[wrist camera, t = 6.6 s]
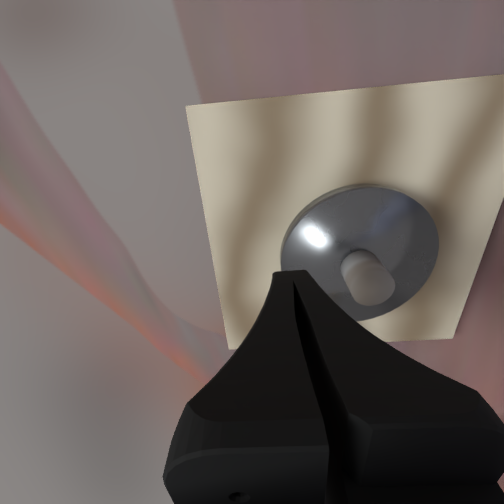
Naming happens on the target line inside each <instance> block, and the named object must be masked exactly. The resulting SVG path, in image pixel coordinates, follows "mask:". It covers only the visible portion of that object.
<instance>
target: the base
mask: <svg viewBox="0 0 504 504" xmlns="http://www.w3.org/2000/svg"><path fill="white" fill-rule="evenodd" d="M185 108H186V113H187V119H188V124H189V130H190V135H191V141H192V147H193V152H194V158H195V163H196V169H197V174H198V180H199V186H200V191H201V197H202V202H203V208H204V213H205V219H206V224H207V230H208V236H209V241H210V247H211V252H212V258H213V264H214V269H215V274H216V280H217V286H218V291H219V296H220V303H221V308H222V314H223V319H224V325H225V331H226V336H227V342H228V347H229V349H238V347H239V346H240V345H241V343H242V342H243V340H244V339H245V337H246V336H247V334H248V333H249V331H250V330H251V328H252V326H253V324H254V323H255V321H256V319H257V317H258V315H259V313H260V311H261V309H262V307H263V305H264V302H265V300H266V297H267V295H268V292H269V289H270V286H271V281H272V274H273V273H274V272H276V271H281V266H280V250H281V245H282V241H283V238H284V235H285V233H286V231H287V229H288V227H289V225H290V224H291V222H292V221H293V219H294V218H295V217H296V216H297V214H298V213H299V212H300V211H301V210H302V209H303V208H304V207H305V206H307V205H308V204H309V203H310V202H312V201H313V200H314V199H316V198H318V197H319V196H321V195H323V194H325V193H327V192H329V191H331V190H334V189H337V188H340V187H343V186H347V185H352V184H361V183H371V184H380V185H385V186H389V187H392V188H394V189H397V190H399V191H401V192H402V193H404V194H406V195H408V196H409V197H411V198H412V199H414V200H415V201H417V202H418V203H419V204H421V205H422V206H423V207H424V208H425V209H426V210H427V211H428V213H429V214H430V216H431V217H432V219H433V220H434V223H435V225H436V228H437V232H438V236H439V251H438V257H437V260H436V264H435V266H434V269H433V271H432V273H431V275H430V276H429V278H428V280H427V281H426V283H425V284H424V285H423V286H422V288H421V289H420V290H419V291H418V292H417V293H416V294H415V295H414V296H413V297H412V298H410V299H409V300H408V301H407V302H405V303H404V304H402V305H401V306H400V307H398V308H396V309H394V310H392V311H391V312H388V313H386V314H384V315H381V316H378V317H375V318H372V319H368V320H364V321H357V323H359V324H360V325H361V326H363V327H364V328H365V329H367V330H368V331H369V332H371V333H372V334H373V335H375V336H376V337H378V338H379V339H381V340H382V341H384V342H392V341H412V340H433V339H453V336H454V333H455V330H456V327H457V325H458V322H459V319H460V316H461V314H462V311H463V308H464V305H465V303H466V300H467V297H468V294H469V292H470V289H471V286H472V283H473V281H474V278H475V275H476V272H477V270H478V267H479V264H480V261H481V259H482V256H483V253H484V250H485V247H486V245H487V242H488V239H489V236H490V234H491V231H492V228H493V225H494V223H495V220H496V217H497V214H498V212H499V209H500V206H501V203H502V201H503V198H504V74H502V75H492V76H482V77H472V78H462V79H452V80H442V81H432V82H422V83H412V84H401V85H391V86H381V87H371V88H361V89H351V90H341V91H331V92H321V93H311V94H301V95H291V96H281V97H271V98H261V99H251V100H240V101H230V102H220V103H210V104H200V105H190V106H185ZM340 270H341V274H342V276H343V278H344V280H345V282H346V284H347V286H348V288H349V290H350V292H351V294H352V296H353V298H354V300H355V301H356V302H358V303H359V304H362V305H367V306H372V305H377V304H380V303H382V302H384V301H386V300H387V299H388V298H389V297H390V296H391V295H392V294H393V292H394V289H395V281H394V279H393V277H392V276H391V275H390V273H389V272H388V271H387V270H386V268H385V267H384V266H383V264H382V263H381V262H380V261H379V259H378V258H377V257H376V255H375V254H373V253H372V252H369V251H365V250H360V251H356V252H353V253H351V254H349V255H348V256H347V257H346V258H345V259H344V260H343V262H342V264H341V268H340Z"/></svg>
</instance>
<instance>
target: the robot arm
mask: <svg viewBox="0 0 504 504" xmlns="http://www.w3.org/2000/svg"><path fill="white" fill-rule="evenodd" d="M503 473H504V424H503V422H502V421H501V419H500V418H499V417H498V415H497V414H496V413H495V411H494V410H493V409H492V408H491V407H490V405H489V404H488V403H487V402H486V401H485V400H484V398H483V397H482V396H481V395H480V394H479V393H478V392H477V391H476V390H474V389H472V388H470V387H468V386H465V385H463V384H461V383H459V382H457V381H455V380H453V379H451V378H449V377H446V376H444V375H442V374H440V373H438V372H436V371H434V370H432V369H430V368H428V367H426V366H425V365H423V364H421V363H419V362H417V361H415V360H414V359H412V358H410V357H408V356H406V355H405V354H403V353H401V352H400V351H398V350H396V349H395V348H393V347H392V346H390V345H389V344H387V343H385V342H384V341H382V340H381V339H379V338H378V337H376V336H375V335H373V334H372V333H371V332H369V331H368V330H367V329H365V328H364V327H363V326H361V325H360V324H359V323H357V322H356V321H355V320H354V319H353V318H351V317H350V316H349V315H348V314H347V313H346V312H345V311H344V310H343V309H341V308H340V307H339V306H338V305H337V304H336V303H335V302H334V301H333V300H332V299H331V298H330V297H329V296H328V295H327V294H326V293H325V291H324V290H323V289H322V288H321V287H320V286H319V285H318V284H317V282H316V281H315V280H314V279H313V278H312V276H311V275H310V274H309V272H308V271H307V270H292V271H276V272H274V273H273V274H272V281H271V286H270V289H269V292H268V295H267V297H266V300H265V302H264V305H263V307H262V309H261V311H260V313H259V315H258V317H257V319H256V321H255V323H254V324H253V326H252V328H251V330H250V331H249V333H248V334H247V336H246V337H245V339H244V340H243V342H242V343H241V345H240V346H239V347H238V349H237V350H236V351H235V353H234V354H233V355H232V357H231V358H230V359H229V360H228V361H227V362H226V364H225V365H224V366H223V367H222V368H221V369H220V370H219V372H218V373H217V374H216V375H215V376H214V377H213V378H212V379H211V380H210V381H209V382H208V383H207V384H206V385H205V386H204V387H203V388H202V389H201V390H200V391H199V392H198V393H197V394H196V395H195V396H194V397H193V398H192V399H191V400H190V401H189V402H187V404H186V406H185V408H184V410H183V413H182V415H181V417H180V419H179V422H178V425H177V427H176V430H175V432H174V435H173V438H172V441H171V445H170V448H169V453H168V457H167V461H166V465H165V469H164V473H163V480H164V485H165V487H166V489H167V491H168V493H169V494H170V496H171V498H172V500H173V502H174V504H504V492H503V491H502V489H501V488H500V486H499V484H498V483H497V481H498V480H499V478H500V477H501V476H502V474H503Z"/></svg>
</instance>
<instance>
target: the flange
mask: <svg viewBox="0 0 504 504" xmlns="http://www.w3.org/2000/svg"><path fill="white" fill-rule="evenodd" d="M360 250H365V251H369V252H372V253H373V254H375V255H376V257H377V258H378V259H379V261H380V262H381V263H382V264H383V266H384V267H385V268H386V270H387V271H388V272H389V273H390V275H391V276H392V277H393V279H394V281H395V289H394V292H393V294H392V295H391V296H390V297H389V298H388V299H387V300H386V301H384V302H382V303H380V304H377V305H372V306H367V305H362V304H359V303H358V302H356V301H355V300H354V298H353V296H352V294H351V292H350V290H349V288H348V286H347V284H346V282H345V280H344V278H343V276H342V274H341V270H340V268H341V264H342V262H343V260H344V259H345V258H346V257H347V256H348V255H349V254H351V253H353V252H356V251H360ZM438 251H439V236H438V232H437V228H436V225H435V223H434V220H433V219H432V217H431V216H430V214H429V213H428V211H427V210H426V209H425V208H424V207H423V206H422V205H421V204H419V203H418V202H417V201H415V200H414V199H412V198H411V197H409V196H408V195H406V194H404V193H402V192H401V191H399V190H397V189H394V188H392V187H389V186H385V185H380V184H371V183H361V184H352V185H347V186H343V187H340V188H337V189H334V190H331V191H329V192H327V193H325V194H323V195H321V196H319V197H318V198H316V199H314V200H313V201H312V202H310V203H309V204H308V205H307V206H305V207H304V208H303V209H302V210H301V211H300V212H299V213H298V214H297V216H296V217H295V218H294V219H293V221H292V222H291V224H290V225H289V227H288V229H287V231H286V233H285V235H284V238H283V241H282V245H281V250H280V266H281V271H292V270H307V271H308V272H309V274H310V275H311V276H312V278H313V279H314V280H315V281H316V282H317V284H318V285H319V286H320V287H321V288H322V289H323V290H324V291H325V293H326V294H327V295H328V296H329V297H330V298H331V299H332V300H333V301H334V302H335V303H336V304H337V305H338V306H339V307H340V308H341V309H343V310H344V311H345V312H346V313H347V314H348V315H349V316H350V317H351V318H353V319H354V320H355V321H356V322H357V321H364V320H368V319H372V318H375V317H378V316H381V315H384V314H386V313H388V312H391V311H392V310H394V309H396V308H398V307H400V306H401V305H402V304H404V303H405V302H407V301H408V300H409V299H410V298H412V297H413V296H414V295H415V294H416V293H417V292H418V291H419V290H420V289H421V288H422V286H423V285H424V284H425V283H426V281H427V280H428V278H429V276H430V275H431V273H432V271H433V269H434V266H435V264H436V260H437V257H438Z"/></svg>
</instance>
